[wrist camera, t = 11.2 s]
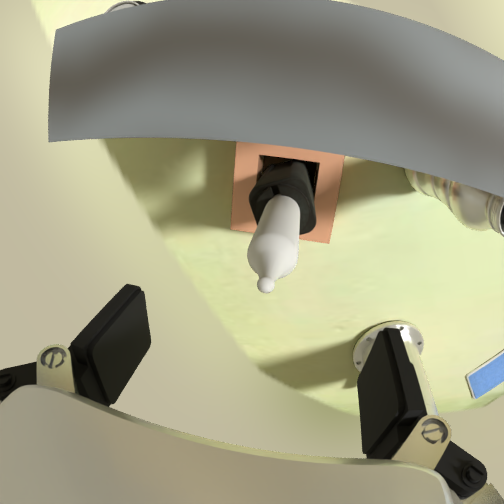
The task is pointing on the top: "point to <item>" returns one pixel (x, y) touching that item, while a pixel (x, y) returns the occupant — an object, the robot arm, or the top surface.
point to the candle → (280, 220)
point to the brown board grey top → (284, 83)
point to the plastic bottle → (462, 201)
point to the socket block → (251, 171)
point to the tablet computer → (486, 376)
